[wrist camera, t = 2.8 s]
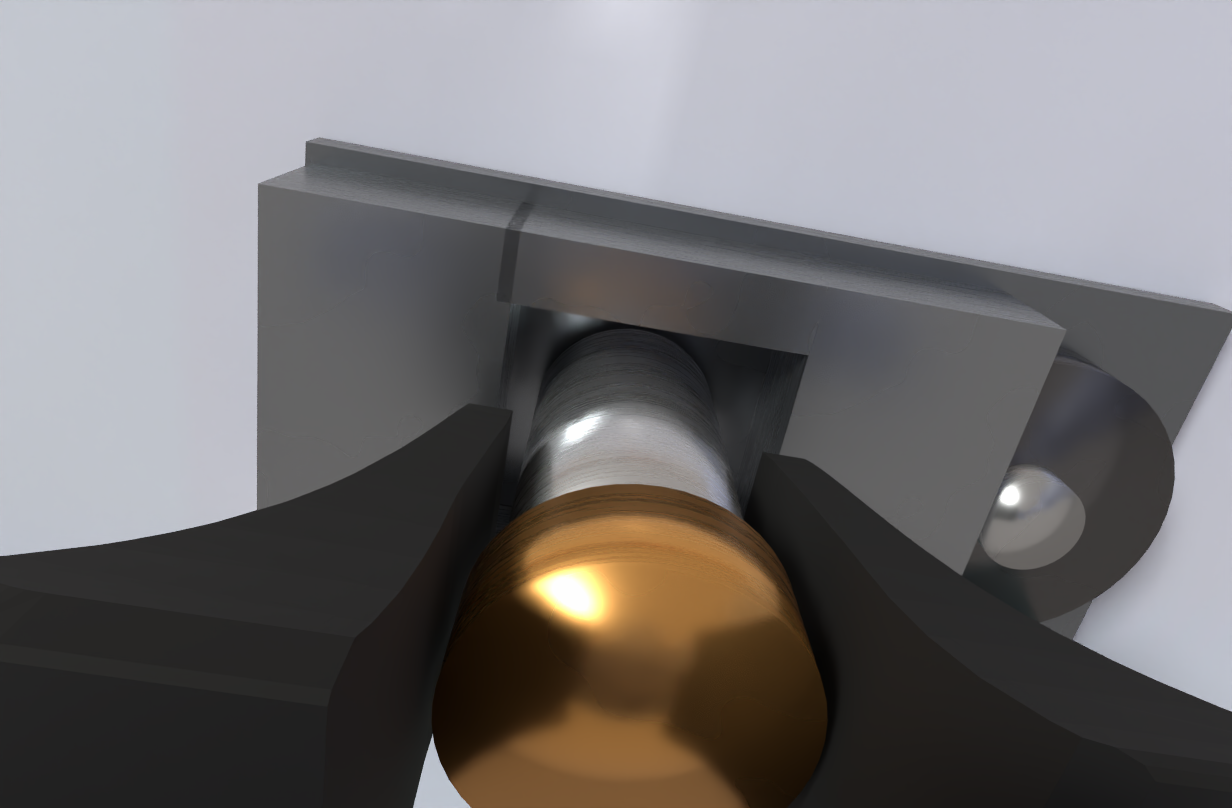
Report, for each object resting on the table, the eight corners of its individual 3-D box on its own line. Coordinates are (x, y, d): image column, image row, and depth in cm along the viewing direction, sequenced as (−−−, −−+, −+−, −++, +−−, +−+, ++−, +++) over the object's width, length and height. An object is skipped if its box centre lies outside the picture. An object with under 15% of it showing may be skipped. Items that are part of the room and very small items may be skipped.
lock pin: (751, 331, 13) (880, 602, 7) (703, 516, 15) (770, 888, 8) (535, 292, 13) (451, 537, 7) (507, 485, 14) (416, 842, 8)
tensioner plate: (1214, 303, 14) (1338, 357, 11) (1051, 630, 16) (1124, 729, 14) (319, 137, 13) (250, 158, 10) (307, 516, 15) (250, 601, 13)
